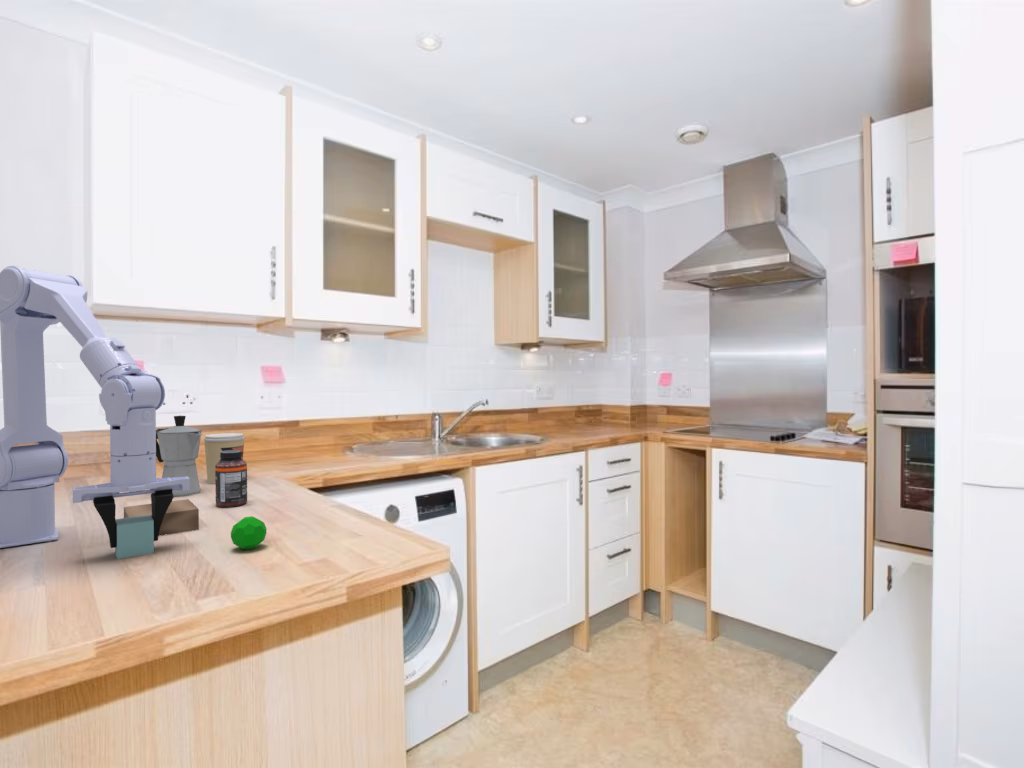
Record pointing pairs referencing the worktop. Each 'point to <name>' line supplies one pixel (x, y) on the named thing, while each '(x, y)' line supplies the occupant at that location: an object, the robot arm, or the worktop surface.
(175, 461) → the coffee maker
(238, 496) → the supplement bottle
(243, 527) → the polyhedron
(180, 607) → the worktop surface
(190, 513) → the walnut block
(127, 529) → the teal block
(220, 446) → the coffee cup
